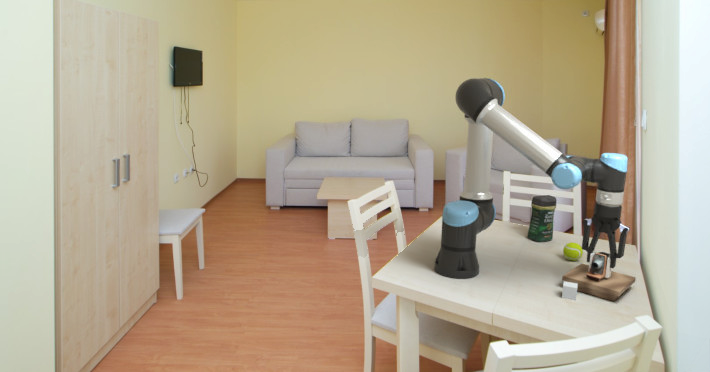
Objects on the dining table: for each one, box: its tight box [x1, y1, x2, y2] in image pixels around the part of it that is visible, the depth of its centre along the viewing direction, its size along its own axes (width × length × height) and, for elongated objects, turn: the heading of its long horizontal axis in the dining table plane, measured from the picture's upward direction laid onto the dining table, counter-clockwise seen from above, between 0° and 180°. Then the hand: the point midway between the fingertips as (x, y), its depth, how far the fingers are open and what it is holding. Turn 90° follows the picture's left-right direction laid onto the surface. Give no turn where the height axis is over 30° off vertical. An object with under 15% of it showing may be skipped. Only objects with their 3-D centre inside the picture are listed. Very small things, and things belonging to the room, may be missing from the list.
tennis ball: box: [562, 242, 584, 262], centre depth 191 cm, size 7×7×7 cm
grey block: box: [561, 281, 578, 301], centre depth 160 cm, size 4×4×4 cm
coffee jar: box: [527, 194, 557, 243], centre depth 213 cm, size 10×8×19 cm
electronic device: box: [586, 251, 610, 281], centre depth 165 cm, size 4×10×8 cm, turn 135°
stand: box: [561, 263, 637, 302], centre depth 167 cm, size 17×16×4 cm
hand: (599, 274), depth 166 cm, fingers closed on electronic device, 4 cm apart
